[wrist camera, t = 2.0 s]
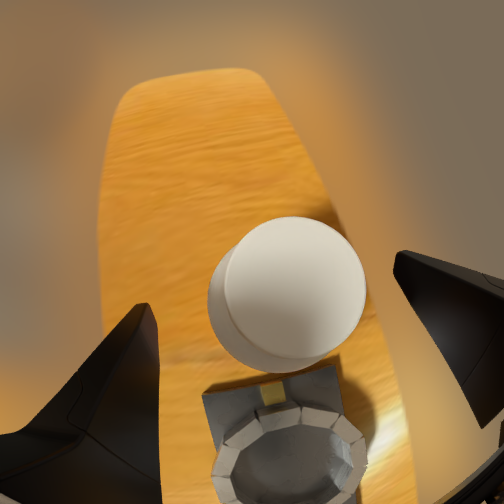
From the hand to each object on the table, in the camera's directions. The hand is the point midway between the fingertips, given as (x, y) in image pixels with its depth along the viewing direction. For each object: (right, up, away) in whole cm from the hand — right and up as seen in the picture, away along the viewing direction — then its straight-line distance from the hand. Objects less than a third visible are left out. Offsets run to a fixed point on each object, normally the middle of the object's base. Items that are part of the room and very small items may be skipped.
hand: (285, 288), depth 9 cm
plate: (+1, -13, +4) cm, 14 cm away
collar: (+1, -11, +4) cm, 12 cm away
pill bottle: (-1, -3, +8) cm, 8 cm away
